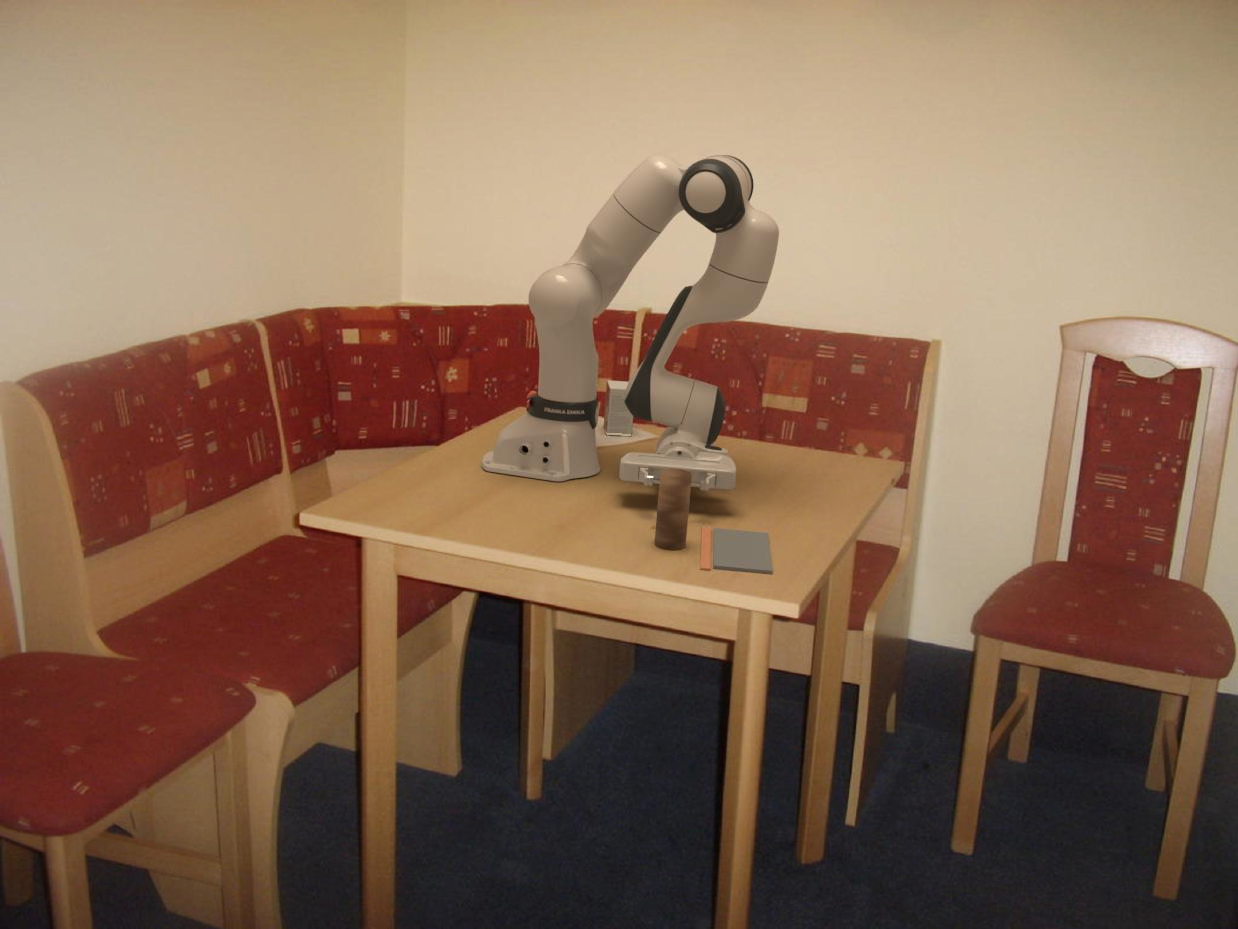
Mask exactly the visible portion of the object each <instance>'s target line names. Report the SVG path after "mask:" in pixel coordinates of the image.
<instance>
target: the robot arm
mask: <svg viewBox="0 0 1238 929" xmlns="http://www.w3.org/2000/svg"><path fill="white" fill-rule="evenodd" d="M753 192H754V179H753V174H752V173H751V169H750V168H749V167H748V166H747V164H746V163H745V162H744V161H743V160H741V159H739V158H738V157H736V156H732V155H728V154H727V155H726V154H718V155H717V154H715V155H710V156H709V155H708V156H706V157H705V158H702V159H700V160H698V161H696V162H693V163H692V164H691V165H690V166H684V165H682V164H681V163H680V162H678V160H676V159H674V158H672V157H670V156H668V155H666V154H660V153H659V154H653V155H650V156H648V157H647V158H645V160H643V161H641V163H640V164H639V165H637V166H636V168H634V169H633V170H632V171H631V172H630V173H629V174H628V175H627V176H626V177H625V178H624V179H623V181H621V183H620V184H619V185H618V186H617V188H616V189H615V190H614V192H613V193H612V194H611V195H610V197H609V198H608V199H607V200H606V202H605V203H604V205H602V207H601V208H600V210H599V211H597V213H596V214H595V216H594V217H593V218H592V220H591V221H590V222H589V224H588V225H587V227H586V229H585V232H584V235H583V237H582V239H581V241H580V242H579V245H578V247H577V248H576V250H575V251H574V252H573V254H572V256H570V258H569V259H568V260H567V261H566V262H565V263H563V264H562V265H560V266H555V267H552V268H549V269H548V270H545V271H544V272H543V273H541V275H540V276H538V278H536V280H535V281H534V282H533V284H532V285H531V287H530V290H529V293H528V306H529V309H530V312H531V314H532V315H533V317H534V322H535V327H536V328H535V329H536V334H537V342H538V350H539V351H538V352H539V354H538V357H539V365H538V384H537V385H538V387H537V389H538V390H537V391H535V390H531V391H529V392H528V394H527V396H526V403H525V404H526V406H525V408H526V410H525V411H526V412H525V413H524V414H522V415H521V416H519V417H518V418H516V419H514V420H513V421H512V422H510V423H508V424H507V425H506V426H504V427H503V428H502V429H501V431H500V432H499V433H498V435H497V438H496V441H495V444H494V449H492V450H490V451H488V452H486V453H485V454H484V456H483V457H482V460H481V467H482V469H483V470H485V471H487V472H489V473H490V472H492V473H497V474H498V473H499V474H505V475H512V476H518V477H524V478H531V479H537V480H543V481H544V480H545V481H552V482H564V481H568V480H573V479H578V478H579V479H580V478H587V477H592V476H594V475H597V474H599V473H600V471H601V467H600V464H599V463H600V462H599V458H598V452H597V451H598V450H597V440H596V439H597V437H596V428H597V425H598V420H599V407H600V406H599V405H600V404H599V398H598V397H597V391H598V380H599V378H598V376H599V362H600V358H599V353H598V351H597V350H596V348H597V347H596V344H595V337H594V329H593V328H594V326H593V325H594V318H596V317H598V316H600V315H602V314H603V313H604V312H605V311H606V309H607V308H608V307H609V306H610V304H611V303H612V301H613V300H614V298H615V297H616V296H617V295H618V293H619V291H620V289H621V288H622V287H623V285H624V284H625V282H626V280H627V278H628V277H629V276H630V274H631V272H632V271H633V270H634V268H635V266H636V265H637V264H638V263H639V261H640V260H641V259H642V257H643V256H644V255H645V253H646V252H647V250H649V249H650V248H651V247H652V245H653V244H654V242H655V241H656V240H657V238H659V236H660V235H661V234H662V232H663V231H664V230H665V229H666V227H667V226H668V225H669V223H670V222H671V221H672V220H673V219H674V217H676V216H677V215H678V214H679V213H680V212H682V211H685V213H686V214H687V215H689V216H690V217H691V218H692V219H693V220H695V221H696V222H698V223H699V224H700V225H702V226H703V227H705V228H706V229H708V230H709V231H710V232H711V233H712V234H715V243H714V247H713V250H712V253H711V255H710V259H709V262H708V265H707V268H706V270H705V272H704V273H703V275H702V276H701V277H700V278H699V280H697V281H696V283H694V284H693V285H688V286H685V287H683V288H682V290H681V291H679V293H678V295H677V296H676V298H674V301H673V303H672V305H671V307H670V308H669V310H668V312H667V313H666V315H665V317H664V319H663V321H662V323H661V325H660V326H659V328H658V331H657V333H655V336H654V338H653V341H652V342H651V343H650V346H649V348H648V350H647V352H646V355H645V356H644V358H643V360H642V361H641V364H639V366H638V367H637V369H636V370H635V372H634V373H633V374H632V376H631V377H630V379H629V380H628V382H629V383H628V385H627V388H626V391H625V401H624V402H625V404H626V406H627V408H628V410H629V411H630V413H631V414H632V415H633V419H637V420H641V421H645V422H646V421H647V422H649V423H650V422H651V423H657V424H661V425H664V426H667V427H666V428H665V429H664V430H663V432H662V433H661V435H660V437H659V438H658V441H657V445H656V450H655V451H656V452H655V453H651V452H650V453H648V452H637V451H636V452H635V451H631V452H627V453H626V454H624V456H622V457H621V458H620V461H619V463H620V464H619V474H618V475H619V477H618V478H619V479H620V480H622V481H625V482H630V483H631V482H633V483H643V486H646V487H653V485H654V484H657V485H659V482H660V471H661V470H664V469H681V470H685V471H688V472H690V473H692V480H691V488H692V487H693V488H699V491H702V492H703V491H704V492H709V490H710V489H714V490H726V491H731V490H734V489H735V488H736V482H737V466H736V463H735V461H734V460H733V459H732V458H731V457H730V456H729V451H728V449H727V448H723V447H718V446H714V445H712V444H714V443H715V442H716V441H717V439H718V437H719V435H720V432H721V430H722V427H723V423H724V419H725V413H726V399H725V396H724V394H723V391H722V390H721V388H720V387H719V385H718V386H717V385H714V384H711V383H707V382H704V381H701V380H699V379H696V378H695V379H694V378H690V377H687V376H685V375H681V374H678V373H674V372H671V371H668V370H667V369H666V368H665V365H666V363H667V361H668V360H669V358H670V356H671V354H672V352H673V350H674V348H675V347H676V345H677V343H678V341H679V339H680V337H681V336H682V334H683V333H684V332H685V331H686V330H687V329H689V328H690V327H694V326H697V325H703V324H710V323H714V324H715V323H727V322H733V321H736V320H737V321H738V320H741V319H743V318H746V317H747V316H749V315H751V314H752V313H753V312H755V310H756V309H757V308H758V307H759V305H760V304H761V302H762V300H763V297H764V295H765V293H766V290H767V288H768V284H769V281H770V278H771V276H772V272H773V268H774V264H775V261H776V256H777V251H778V245H779V244H778V243H779V238H780V237H779V236H780V228H779V225H778V224H777V222H776V221H775V220H774V218H772V217H771V216H770V215H769V214H767V213H766V212H763V211H762V210H758V209H756V208H755V207H753V206H752V205H751V202H750V201H751V198H752V196H753Z"/></svg>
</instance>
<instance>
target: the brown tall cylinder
mask: <svg viewBox="0 0 1238 929" xmlns="http://www.w3.org/2000/svg"><path fill="white" fill-rule="evenodd" d="M691 480H692V473H690V472H688V471H685V470H681V469H664V470H661V471H660V482H659V484H658V485H659V486H658V493H657V494H658V495H657V505H656V506H657V507H656V508H657V509H656V522H655V532H654V546H655V547H656V548H659V549H661V550H667V551H681V550H683V549H685V548H686V543H687V533H688V532H687V531H688V523H689V511H690V500H691V492H692V491H691V490H692V487H691Z"/></svg>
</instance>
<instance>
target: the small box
mask: <svg viewBox="0 0 1238 929" xmlns="http://www.w3.org/2000/svg"><path fill="white" fill-rule="evenodd" d="M628 383H629V381H626V380H625V381H622V380H609V379H608V380H606V387H605V388H606V390H605V391H606V392H605V402H604V416H603V417H604V418H603V427H605V428H604V431H605V430H606V432H607V433H622V434H633V426H634V425H633V424H634V417H633V415H632V414H631V413H630V411H629V410H628V408H627V406H626V404H625V402H624V401H625V391H626V388H627V385H628ZM606 432H605V433H606Z"/></svg>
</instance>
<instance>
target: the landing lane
mask: <svg viewBox="0 0 1238 929" xmlns="http://www.w3.org/2000/svg"><path fill="white" fill-rule="evenodd" d="M711 536H712V527H711V526H704V525H702V526H701V539H700V540H701V543H700V544H701V545H700V568H699V569H700V570H701V571H702V570H703V571H711V555H712V554H711V546H712V545H711V543H712V539H711V538H712V537H711ZM772 562H773V561H772V554H771V547H770V540H769V533H768V532H764V531H763V532H762V531H752V530H750V531H749V530H743V529H742V530H740V529H739V530H738V529H729V528H719V527H713V563H712V564H713V568H712V569H715V570H726V571H737V572H746V571H747V573H748V572H749V573H759V574H768V575H773V573H774V572H773V570H774V569H773V563H772Z"/></svg>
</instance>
